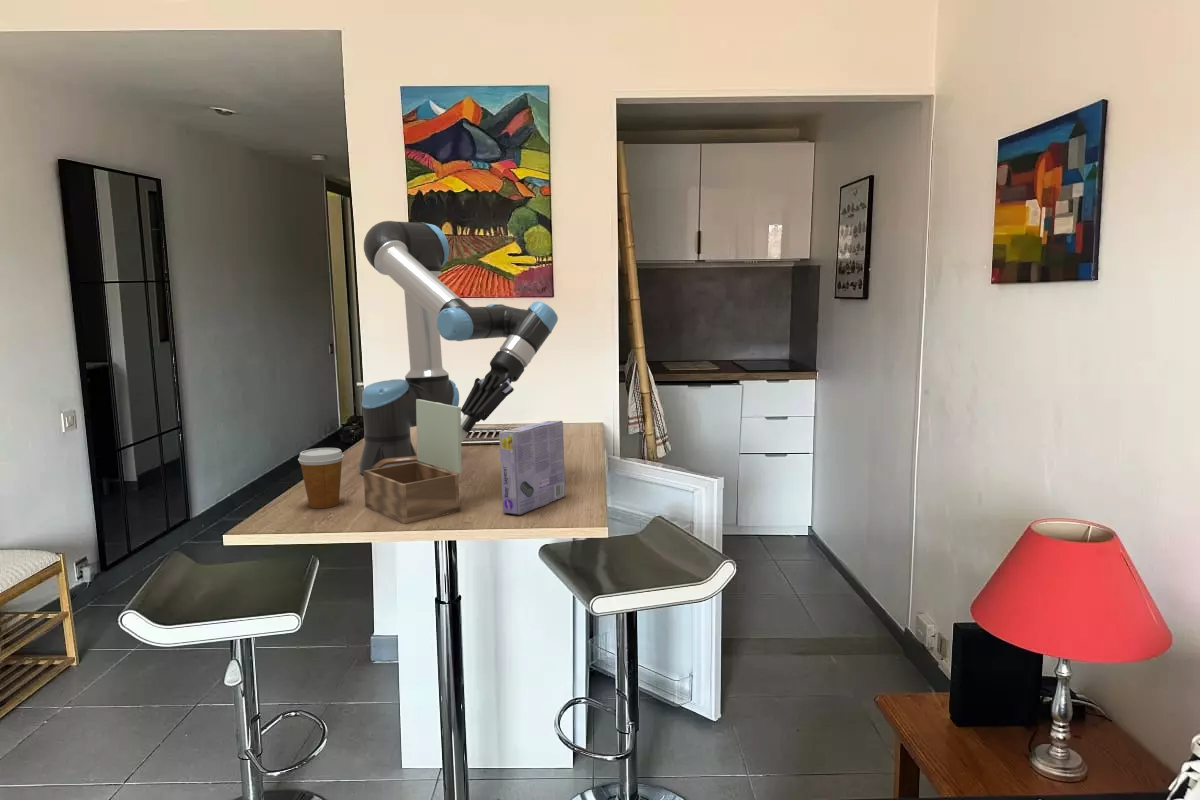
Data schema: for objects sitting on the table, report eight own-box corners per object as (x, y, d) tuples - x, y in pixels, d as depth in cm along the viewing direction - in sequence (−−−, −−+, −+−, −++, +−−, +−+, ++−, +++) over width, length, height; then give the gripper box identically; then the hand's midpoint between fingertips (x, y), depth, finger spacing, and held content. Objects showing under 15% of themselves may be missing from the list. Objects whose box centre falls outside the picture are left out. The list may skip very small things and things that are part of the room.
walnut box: (365, 506, 173) (363, 470, 172) (418, 495, 182) (417, 461, 181) (403, 523, 160) (401, 485, 159) (459, 511, 168) (458, 474, 167)
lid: (416, 399, 179) (420, 399, 180) (417, 460, 181) (421, 459, 181) (457, 407, 166) (461, 407, 166) (458, 473, 167) (462, 472, 168)
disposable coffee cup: (311, 499, 180) (307, 447, 179) (352, 498, 180) (349, 447, 178) (294, 510, 171) (290, 456, 169) (337, 510, 171) (334, 455, 169)
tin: (434, 487, 190) (432, 452, 188) (438, 490, 187) (436, 455, 186) (370, 495, 183) (368, 460, 182) (373, 498, 180) (371, 462, 179)
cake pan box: (551, 493, 182) (549, 417, 180) (569, 495, 180) (568, 419, 177) (499, 514, 166) (496, 431, 163) (519, 517, 163) (516, 433, 161)
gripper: (538, 371, 180) (480, 456, 172) (505, 368, 190) (449, 447, 181) (518, 350, 176) (458, 435, 168) (485, 347, 185) (427, 428, 177)
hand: (453, 441), depth 175 cm, fingers closed
